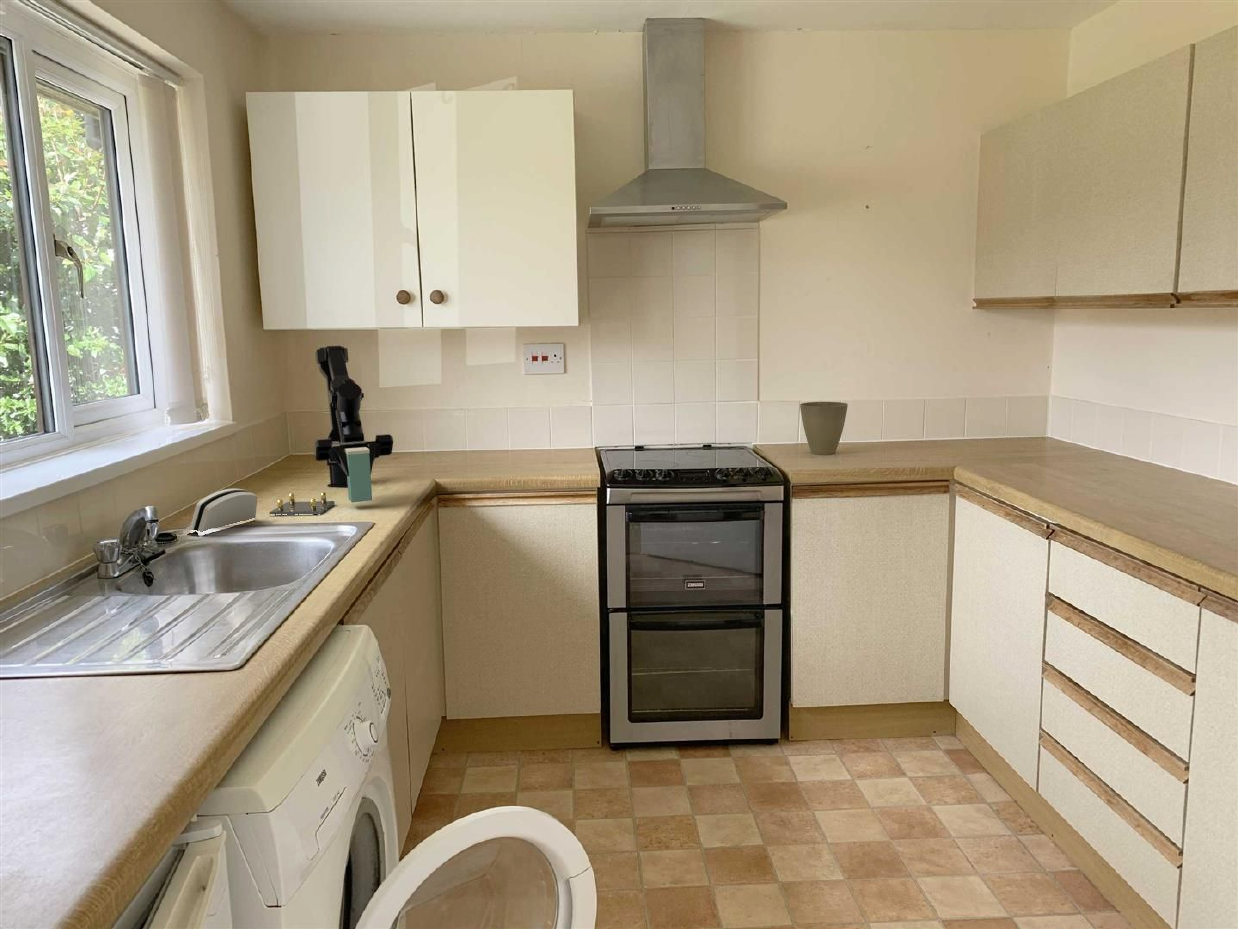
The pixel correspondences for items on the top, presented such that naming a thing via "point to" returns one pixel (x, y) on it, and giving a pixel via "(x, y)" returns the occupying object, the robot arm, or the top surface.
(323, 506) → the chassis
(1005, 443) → the top surface
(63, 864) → the top surface
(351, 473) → the tea tin
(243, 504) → the grey napkin holder
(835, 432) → the plant pot
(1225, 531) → the top surface
